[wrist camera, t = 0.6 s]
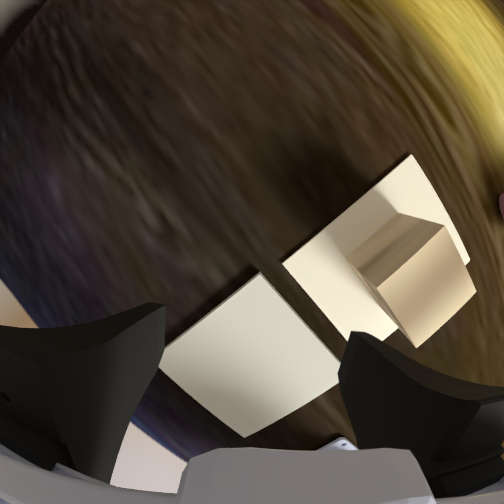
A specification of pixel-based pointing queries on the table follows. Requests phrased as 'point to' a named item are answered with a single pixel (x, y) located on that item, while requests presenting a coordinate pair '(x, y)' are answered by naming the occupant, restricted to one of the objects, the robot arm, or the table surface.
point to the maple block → (414, 274)
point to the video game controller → (501, 204)
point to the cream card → (354, 235)
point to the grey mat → (251, 359)
